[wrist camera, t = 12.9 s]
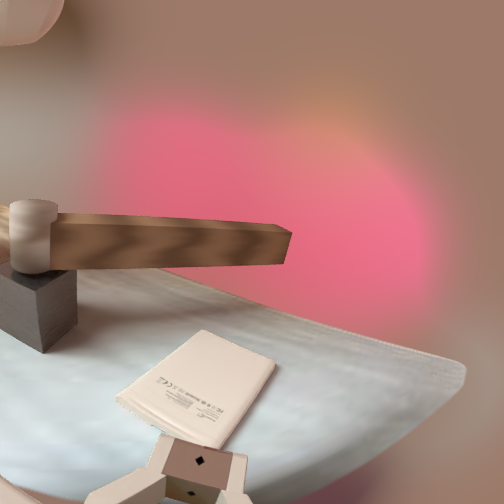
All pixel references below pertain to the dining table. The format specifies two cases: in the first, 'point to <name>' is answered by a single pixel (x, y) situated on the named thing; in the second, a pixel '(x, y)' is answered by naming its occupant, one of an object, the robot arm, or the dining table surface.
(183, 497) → the robot arm
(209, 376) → the external hard drive
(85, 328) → the dining table surface
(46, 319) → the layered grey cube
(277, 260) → the walnut swing arm
